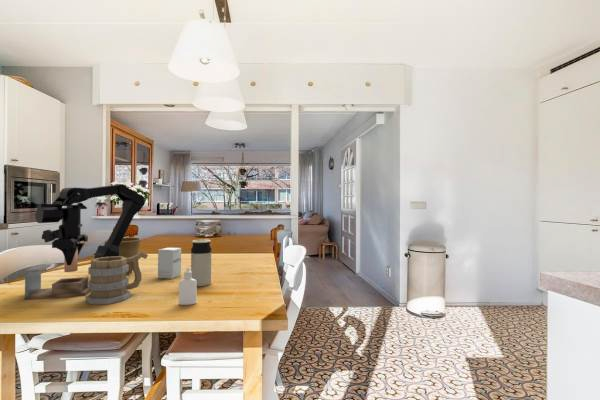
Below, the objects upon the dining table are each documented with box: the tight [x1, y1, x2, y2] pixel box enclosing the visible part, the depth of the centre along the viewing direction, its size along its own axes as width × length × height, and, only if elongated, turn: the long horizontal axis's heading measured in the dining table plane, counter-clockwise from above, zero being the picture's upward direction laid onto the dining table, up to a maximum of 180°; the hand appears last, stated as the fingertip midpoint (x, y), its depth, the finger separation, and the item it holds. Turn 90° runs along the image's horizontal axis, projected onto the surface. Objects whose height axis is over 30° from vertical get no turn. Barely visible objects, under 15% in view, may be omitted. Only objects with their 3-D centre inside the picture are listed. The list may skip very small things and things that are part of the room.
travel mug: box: [190, 239, 212, 287], centre depth 137 cm, size 8×8×18 cm
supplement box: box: [157, 247, 182, 280], centre depth 151 cm, size 7×7×13 cm
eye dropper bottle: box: [178, 267, 198, 306], centre depth 112 cm, size 4×6×12 cm
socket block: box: [24, 263, 90, 300], centre depth 122 cm, size 18×10×10 cm, turn 108°
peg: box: [63, 249, 79, 273], centre depth 123 cm, size 4×4×8 cm
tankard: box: [85, 251, 149, 305], centre depth 119 cm, size 20×13×15 cm, turn 139°
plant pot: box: [104, 236, 142, 275], centre depth 155 cm, size 15×15×16 cm
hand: (71, 264), depth 123 cm, fingers closed on peg, 4 cm apart
